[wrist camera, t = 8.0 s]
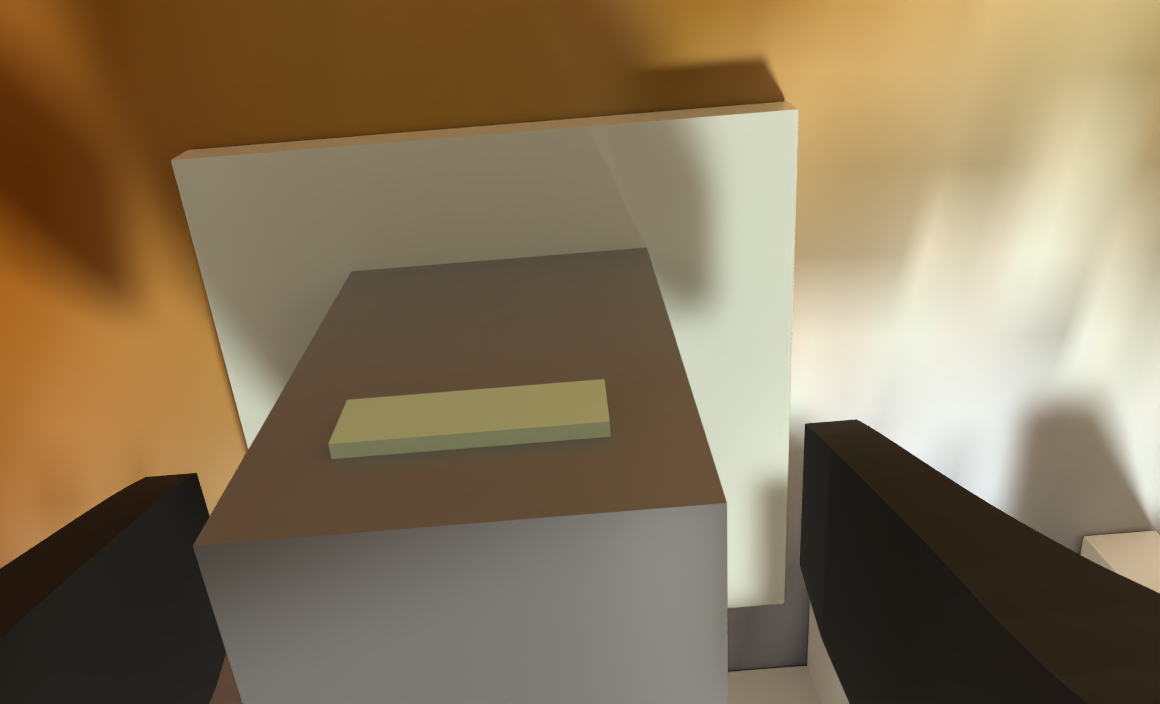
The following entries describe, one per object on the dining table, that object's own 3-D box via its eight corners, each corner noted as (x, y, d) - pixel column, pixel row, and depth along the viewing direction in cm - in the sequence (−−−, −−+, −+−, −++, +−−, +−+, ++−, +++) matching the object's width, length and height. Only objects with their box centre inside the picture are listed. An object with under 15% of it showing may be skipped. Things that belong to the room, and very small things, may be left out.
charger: (664, 662, 15) (729, 1066, 10) (429, 681, 15) (365, 1094, 10) (646, 236, 12) (727, 486, 7) (349, 261, 12) (188, 530, 7)
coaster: (775, 579, 15) (784, 603, 15) (308, 617, 15) (300, 642, 15) (787, 100, 12) (798, 109, 11) (187, 149, 12) (170, 160, 11)
